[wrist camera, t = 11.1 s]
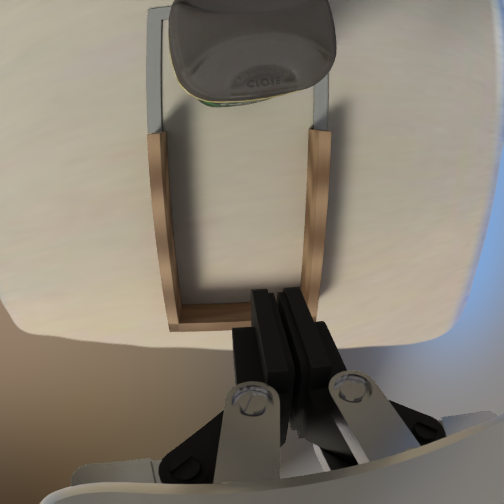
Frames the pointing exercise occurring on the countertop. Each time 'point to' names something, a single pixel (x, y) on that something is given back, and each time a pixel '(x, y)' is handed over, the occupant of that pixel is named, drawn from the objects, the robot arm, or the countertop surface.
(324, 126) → the grey bay
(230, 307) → the wooden u-shaped frame
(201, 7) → the coffee jar
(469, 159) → the countertop surface
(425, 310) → the countertop surface
